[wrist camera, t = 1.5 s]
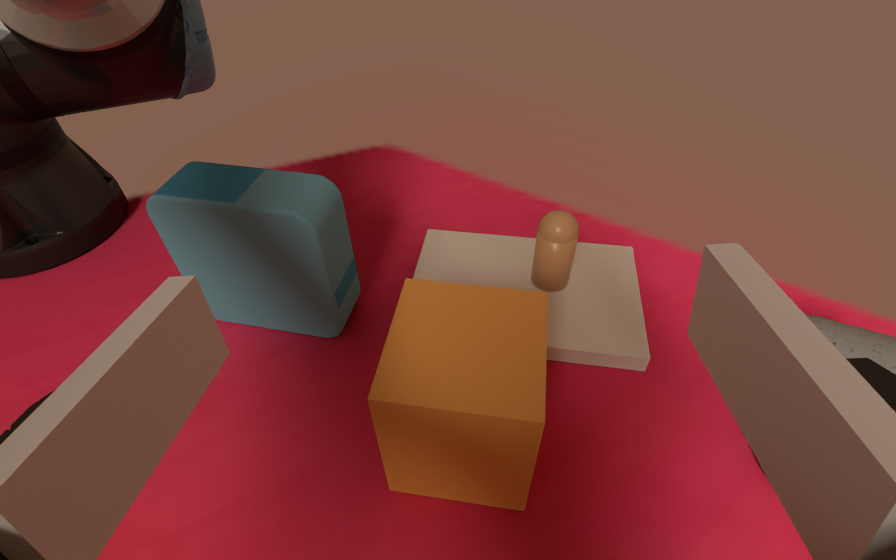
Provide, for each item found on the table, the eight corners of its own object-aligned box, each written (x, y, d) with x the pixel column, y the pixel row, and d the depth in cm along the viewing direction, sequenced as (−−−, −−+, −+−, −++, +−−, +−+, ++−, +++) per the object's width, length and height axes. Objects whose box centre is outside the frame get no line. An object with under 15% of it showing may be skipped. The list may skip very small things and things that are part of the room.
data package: (364, 300, 41) (339, 174, 32) (344, 342, 38) (311, 215, 29) (232, 280, 43) (177, 157, 34) (203, 319, 39) (134, 194, 31)
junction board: (399, 342, 37) (388, 265, 32) (428, 241, 46) (424, 166, 40) (644, 371, 35) (679, 293, 29) (628, 259, 44) (653, 182, 38)
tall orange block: (389, 490, 29) (367, 399, 22) (416, 378, 35) (405, 278, 28) (524, 511, 28) (544, 423, 21) (530, 392, 34) (548, 292, 27)
